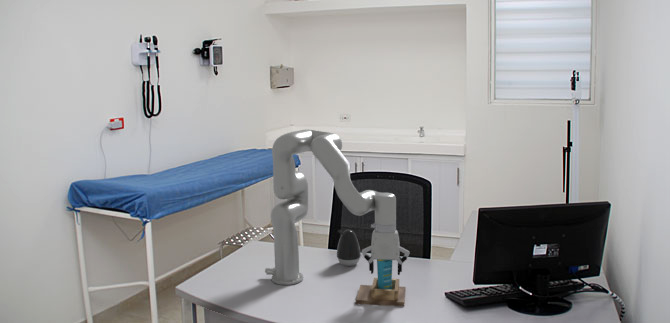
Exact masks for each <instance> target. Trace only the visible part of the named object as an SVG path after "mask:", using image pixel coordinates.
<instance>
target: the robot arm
mask: <svg viewBox="0 0 670 323" xmlns="http://www.w3.org/2000/svg"><path fill="white" fill-rule="evenodd" d="M342 148H343V142H342V139H341V138H340V136H339V135H337V134H336V133H333V132H329V131H328V132H327V131H321V130H315V129H300V130H295V131H291V132H287V133H284V134H282V135H280V136H279V137H277V139H275V141H274V142H273V144H272V149H271V155H272V164H273V167H272V169H273V170H272V173H273V174H272V175H273V176H272V178H273V181H272V182H273V193H274V195H275V197H276V198H277V199H280V200H284V201H281V202H279V203H277V204H276V205H274V207H273V208H272V209H271V212H270V221H271V225H272V229H273V230H272V231H273V243H274V244H273V246H274V247H273V248H274V249H273V250H274V267H272V268H271V267H265V269H264V273H265V274H266V275H268V276H269V275H272V276H271V282H272V283H274V284H277V285H281V286H283V285H284V286H291V285H295V284H299V283H301V282H302V281H303V280H304V275H303V273H301V272H300V261H299V260H300V258H299V257H300V255H299V254H300V253H299V234H298V230H297V228H296V225H295V224H296V223H297V222H299V221H301V220H303V219H305V218H306V216H307V215H308V211H309V184H308V179H307V177H306V176H305V174H303V173H302V172H301V171H298V170H297V171H296V162H295V159H294V157H293V156H294V155H297V154H302V153H305V152H311V153H312V154H313V156H314V157H315V159H317V162H319V163H320V165H322V167H323V168H324V170H326V172H327V173H328V175H329V176H330V177H331V180H332V182H333V186H334V189H335V193H336V195H337V197H338V198H339V200H340V201H341V202H342V204H343V205H344V207H345V208H346V209H347V210H348V211H349V212H350V213H351V214H353V215H354V216H359V217H360V216H363V215H366V214H368V213H369V212H372V211H374V223H371V224H370V228H372V229H374V230H373V231H372V233H371V242H370V243H371V245H369V246H367V247H365V248H362V250H361V255H362V256H363V257H364V259H365V260H366V261H367V263H368V266H369V267H368V269H369V272H370V274H371V275H373V274H374V272H375V271H374V269H375V268H374V267H375V266H374V265H375V264H374V261H375V260H376V261H377V260H392V261H396V262H397V275H398V276H400V275H401V273H402V272H403V263H404V262H406V261H407V259H408V257H409V256H410V251H409V250H408V249H406V248H404V247H402V246H400V244H401V243H400V236H399V232H398V230H397V198H396V197H397V196H396V195H395V194H393V193H391V192H381V191H376V190H374V189H373V190H372V189H366V190H363V191H360V192H359V191H358V189H357V188H356V186H354V184H353V181H352V180H351V168H352V165H351V163H350V161H349V160H348V159H347V158H346V156H345V155H344V154H343V153H342V151H341V150H342ZM368 252H370V255H369V254H368ZM400 252H401V253H403V254H404V255H403V256H402V257H401V256H400V255H401V254H400Z"/></svg>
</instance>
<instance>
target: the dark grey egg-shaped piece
mask: <svg viewBox="0 0 670 323" xmlns="http://www.w3.org/2000/svg"><path fill="white" fill-rule="evenodd" d="M337 233H339V234H340V238H339V240H338V244H337V248H336V258H337V261H338V262H339V263H340V264H341V265H342V266H345V267H352V266H356V265H357V263H358V262H359V261H360V259H361V256H362V252H361V247H360V244H359V241H358V237H357V235H356V233H355V231H353V230H351V229H345V230H344V231H342V230H341V229H337Z"/></svg>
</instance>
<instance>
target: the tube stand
mask: <svg viewBox="0 0 670 323" xmlns="http://www.w3.org/2000/svg"><path fill="white" fill-rule="evenodd" d="M406 289H407V288H406V286H400V278H392V289H378V277H374V278H373V282H372V284H368V285H367V284H360V285H359V290H358V292H357V295H356V299H355V302H356V303H355V304H356V305H366V306H367V305H369V306H372V305H373V306H386V307H387V306H389V307H390V306H391V307H394V306H395V307H405V303H406V302H405V301H406Z"/></svg>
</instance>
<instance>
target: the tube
mask: <svg viewBox="0 0 670 323" xmlns="http://www.w3.org/2000/svg"><path fill="white" fill-rule="evenodd" d="M376 267H377V268H376V269H377V270H376V271H377V278H378V289H392V279H393V278H392V277H393V260H377V259H376Z"/></svg>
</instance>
